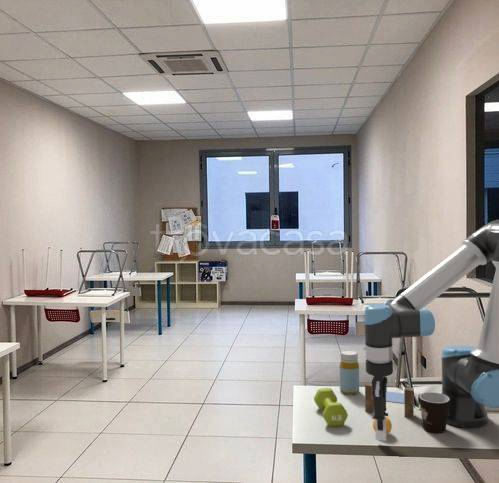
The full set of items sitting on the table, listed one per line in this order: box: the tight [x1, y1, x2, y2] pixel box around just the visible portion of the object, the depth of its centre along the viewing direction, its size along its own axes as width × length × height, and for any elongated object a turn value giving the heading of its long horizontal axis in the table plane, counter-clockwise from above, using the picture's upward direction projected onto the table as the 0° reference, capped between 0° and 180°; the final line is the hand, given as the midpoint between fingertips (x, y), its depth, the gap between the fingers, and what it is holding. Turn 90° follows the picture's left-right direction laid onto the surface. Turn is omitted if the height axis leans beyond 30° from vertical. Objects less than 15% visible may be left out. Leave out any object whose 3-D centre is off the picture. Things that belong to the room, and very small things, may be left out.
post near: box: [403, 386, 415, 419], centre depth 159 cm, size 3×3×9 cm
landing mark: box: [386, 390, 404, 404], centre depth 175 cm, size 9×9×1 cm
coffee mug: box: [417, 391, 449, 435], centre depth 151 cm, size 12×9×10 cm
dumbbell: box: [313, 387, 349, 428], centre depth 161 cm, size 16×8×7 cm, turn 4°
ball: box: [372, 416, 393, 435], centre depth 147 cm, size 6×6×6 cm
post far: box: [364, 382, 374, 413], centre depth 164 cm, size 3×3×9 cm
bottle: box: [339, 349, 360, 396], centre depth 181 cm, size 7×7×15 cm
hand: (381, 439), depth 141 cm, fingers closed
